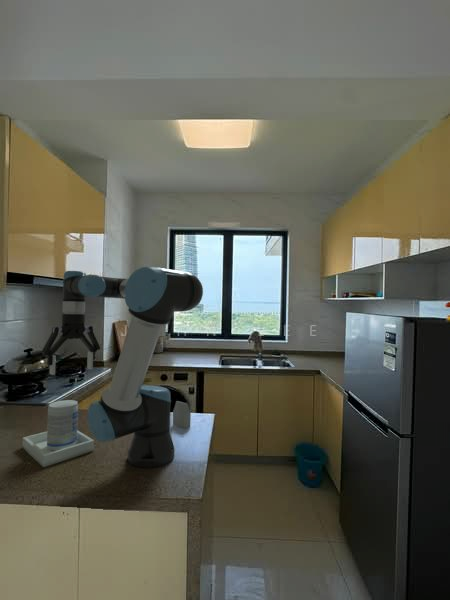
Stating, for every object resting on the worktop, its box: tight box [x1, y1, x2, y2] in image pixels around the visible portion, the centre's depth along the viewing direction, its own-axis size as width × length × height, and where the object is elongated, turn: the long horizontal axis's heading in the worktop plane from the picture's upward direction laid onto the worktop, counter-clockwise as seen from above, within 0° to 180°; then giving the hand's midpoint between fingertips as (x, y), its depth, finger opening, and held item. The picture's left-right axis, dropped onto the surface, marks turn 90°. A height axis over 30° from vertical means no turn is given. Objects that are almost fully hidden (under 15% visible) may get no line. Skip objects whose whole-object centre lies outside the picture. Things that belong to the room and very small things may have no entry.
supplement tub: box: [46, 399, 79, 451], centre depth 111 cm, size 10×10×15 cm
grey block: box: [172, 400, 192, 430], centre depth 133 cm, size 4×7×10 cm, turn 54°
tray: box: [22, 429, 95, 468], centre depth 110 cm, size 20×16×4 cm
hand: (71, 371), depth 115 cm, fingers open, 13 cm apart
